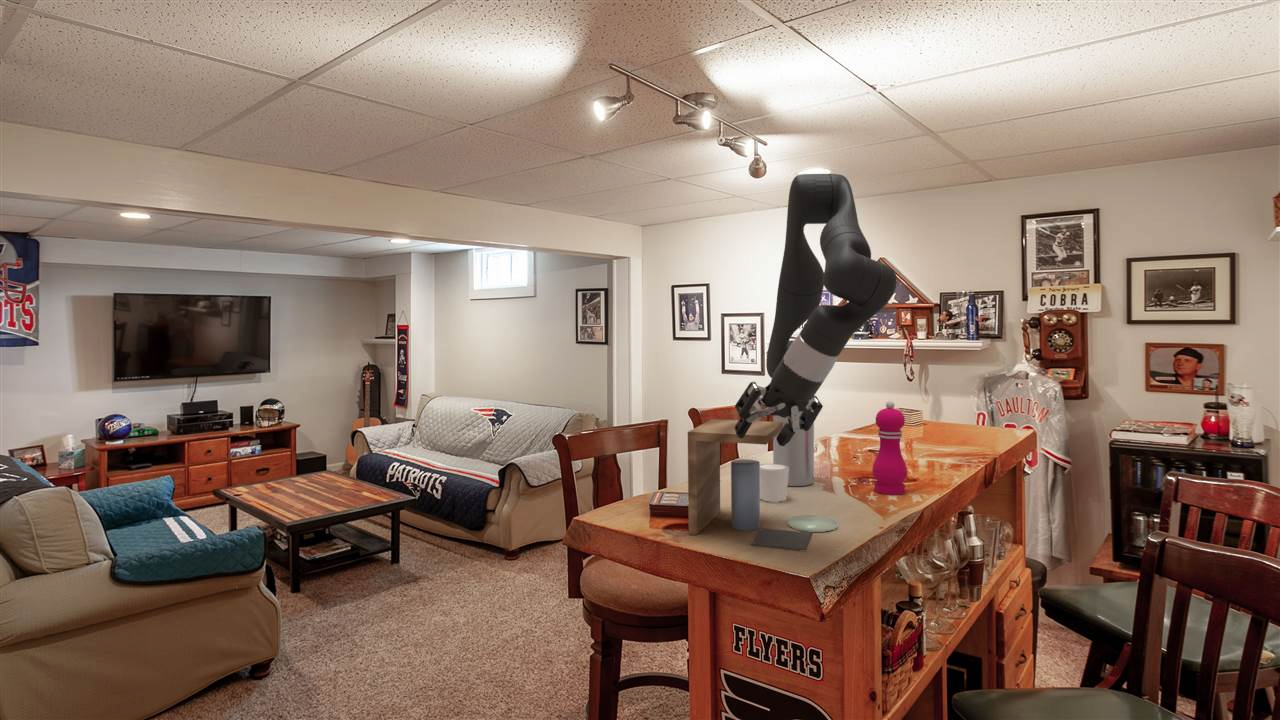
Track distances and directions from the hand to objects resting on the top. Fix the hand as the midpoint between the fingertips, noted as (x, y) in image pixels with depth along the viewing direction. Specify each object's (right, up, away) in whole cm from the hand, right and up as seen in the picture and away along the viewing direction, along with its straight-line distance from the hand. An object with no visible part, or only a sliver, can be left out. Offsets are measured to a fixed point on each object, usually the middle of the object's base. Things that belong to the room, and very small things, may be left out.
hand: (759, 439), depth 116 cm
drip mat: (+4, -17, -1) cm, 18 cm away
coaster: (+11, -17, +7) cm, 22 cm away
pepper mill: (+34, -15, +31) cm, 48 cm away
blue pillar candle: (-1, -17, +7) cm, 19 cm away
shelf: (-3, -17, +8) cm, 19 cm away
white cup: (+8, -16, +26) cm, 32 cm away
